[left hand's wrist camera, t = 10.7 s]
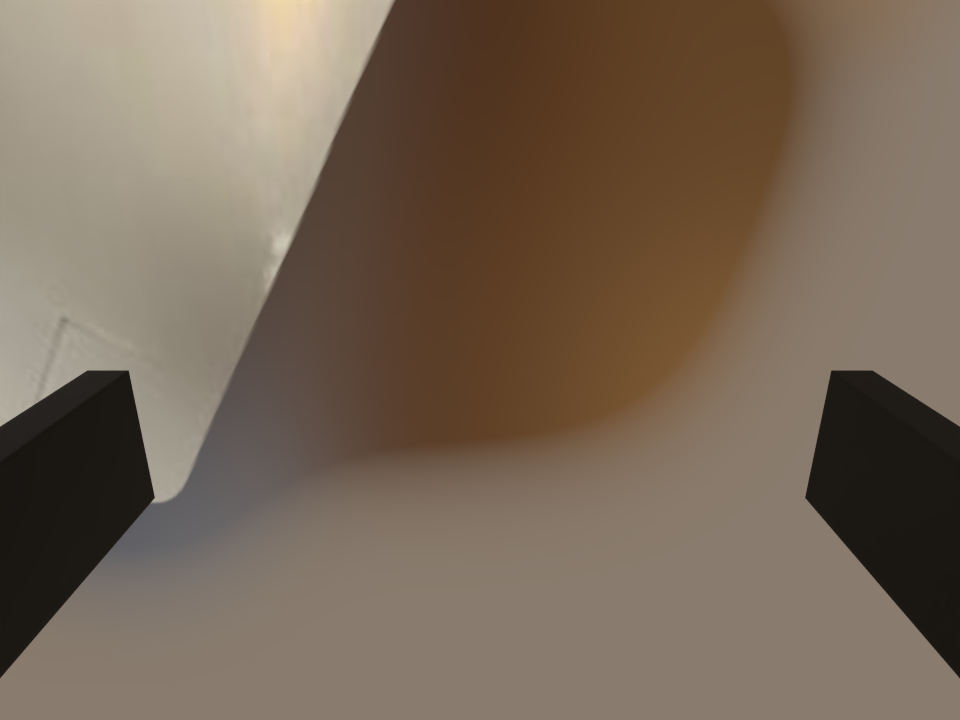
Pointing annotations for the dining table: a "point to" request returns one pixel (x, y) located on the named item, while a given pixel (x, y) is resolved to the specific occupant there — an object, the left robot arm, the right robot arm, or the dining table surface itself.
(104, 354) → the dining table surface
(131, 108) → the dining table surface
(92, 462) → the left robot arm
